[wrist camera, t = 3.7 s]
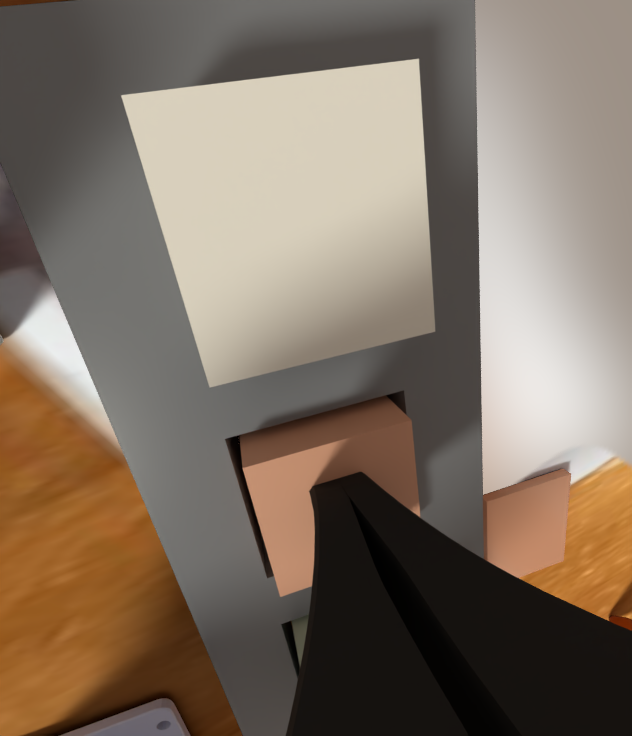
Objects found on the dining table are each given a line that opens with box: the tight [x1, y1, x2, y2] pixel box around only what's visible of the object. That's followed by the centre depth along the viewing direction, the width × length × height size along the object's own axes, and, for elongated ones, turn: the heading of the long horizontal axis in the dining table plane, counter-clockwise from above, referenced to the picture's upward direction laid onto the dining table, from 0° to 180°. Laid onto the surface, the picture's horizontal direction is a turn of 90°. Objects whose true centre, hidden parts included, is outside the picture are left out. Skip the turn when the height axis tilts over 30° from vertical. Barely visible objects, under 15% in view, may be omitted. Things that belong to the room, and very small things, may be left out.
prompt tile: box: [483, 469, 571, 578], centre depth 17 cm, size 5×4×1 cm
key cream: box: [121, 59, 435, 387], centre depth 7 cm, size 4×4×4 cm
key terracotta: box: [239, 395, 421, 597], centre depth 11 cm, size 4×4×4 cm
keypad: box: [0, 0, 484, 736], centre depth 12 cm, size 21×9×3 cm, turn 10°
